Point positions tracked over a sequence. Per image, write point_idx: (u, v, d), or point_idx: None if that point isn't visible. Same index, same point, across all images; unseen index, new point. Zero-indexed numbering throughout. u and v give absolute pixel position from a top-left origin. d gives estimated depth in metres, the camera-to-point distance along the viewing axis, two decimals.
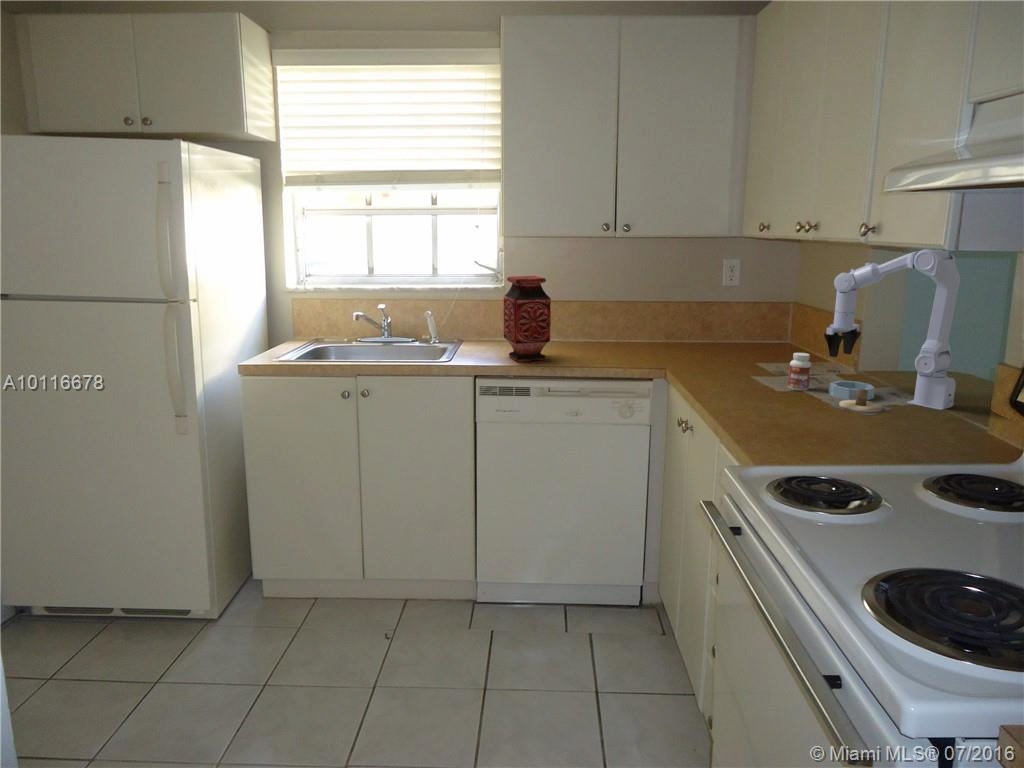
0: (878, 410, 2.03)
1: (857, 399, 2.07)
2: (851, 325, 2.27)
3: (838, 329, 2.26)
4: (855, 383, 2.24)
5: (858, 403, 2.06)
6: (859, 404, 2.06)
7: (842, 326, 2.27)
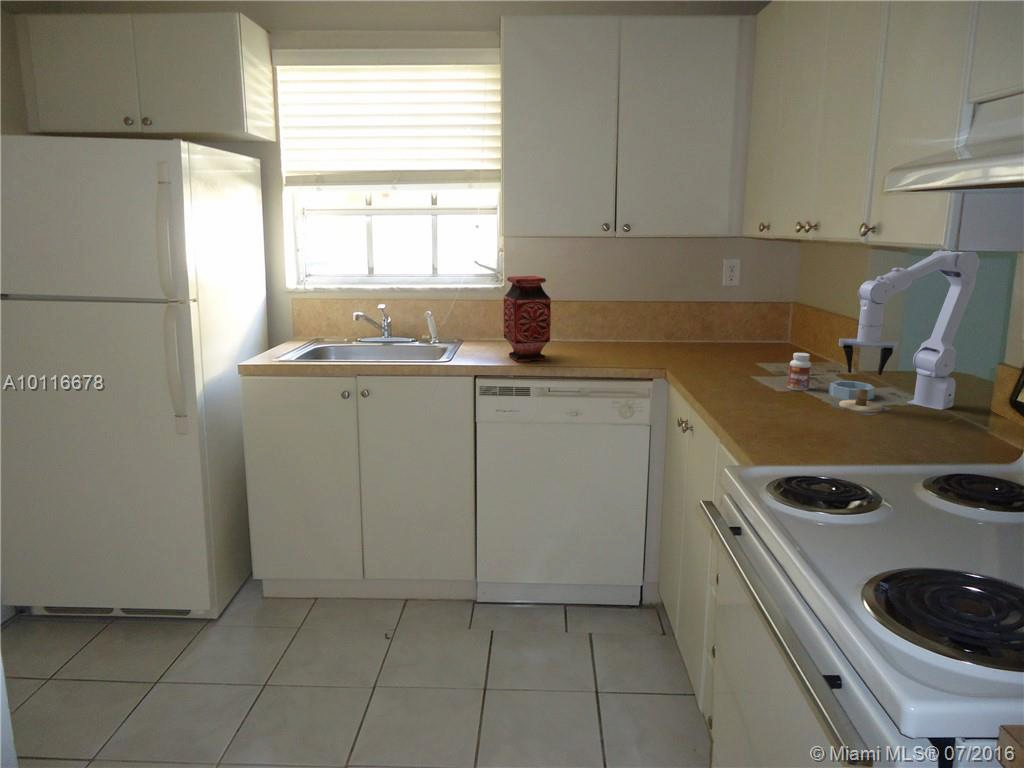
0: (878, 410, 2.03)
1: (857, 399, 2.07)
2: (868, 340, 2.02)
3: (849, 341, 2.04)
4: (855, 383, 2.24)
5: (858, 403, 2.06)
6: (859, 404, 2.06)
7: (858, 339, 2.04)
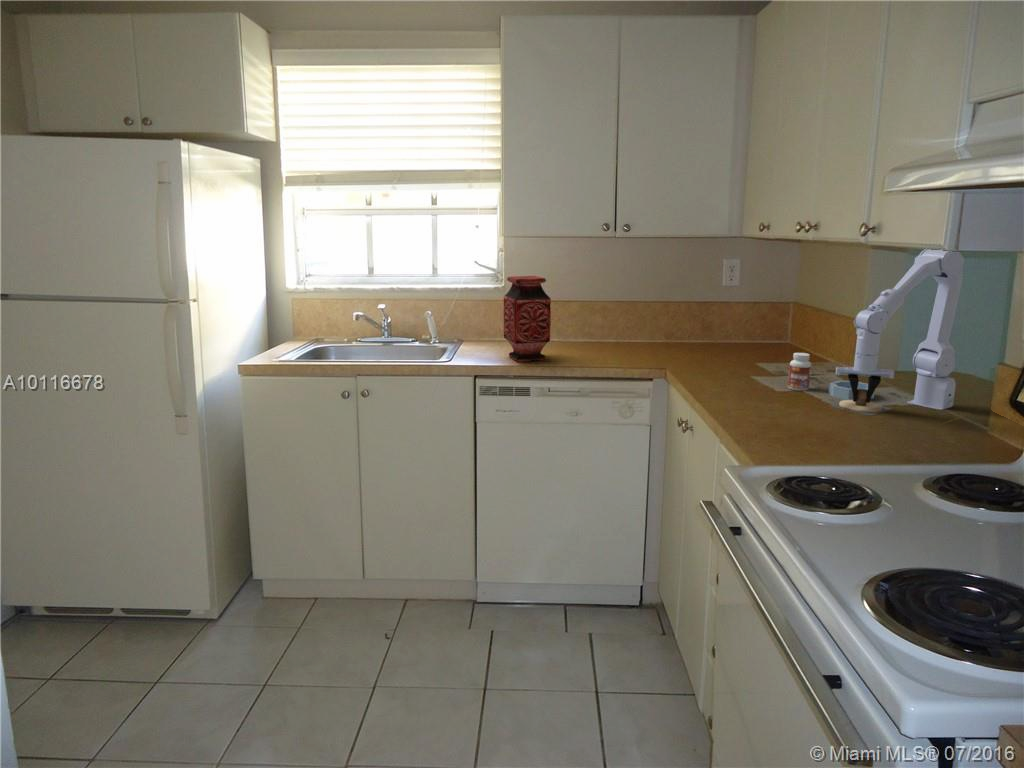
0: (878, 410, 2.03)
1: (857, 399, 2.07)
2: (865, 369, 2.02)
3: (846, 370, 2.05)
4: None
5: (858, 403, 2.06)
6: (859, 404, 2.06)
7: (855, 368, 2.05)
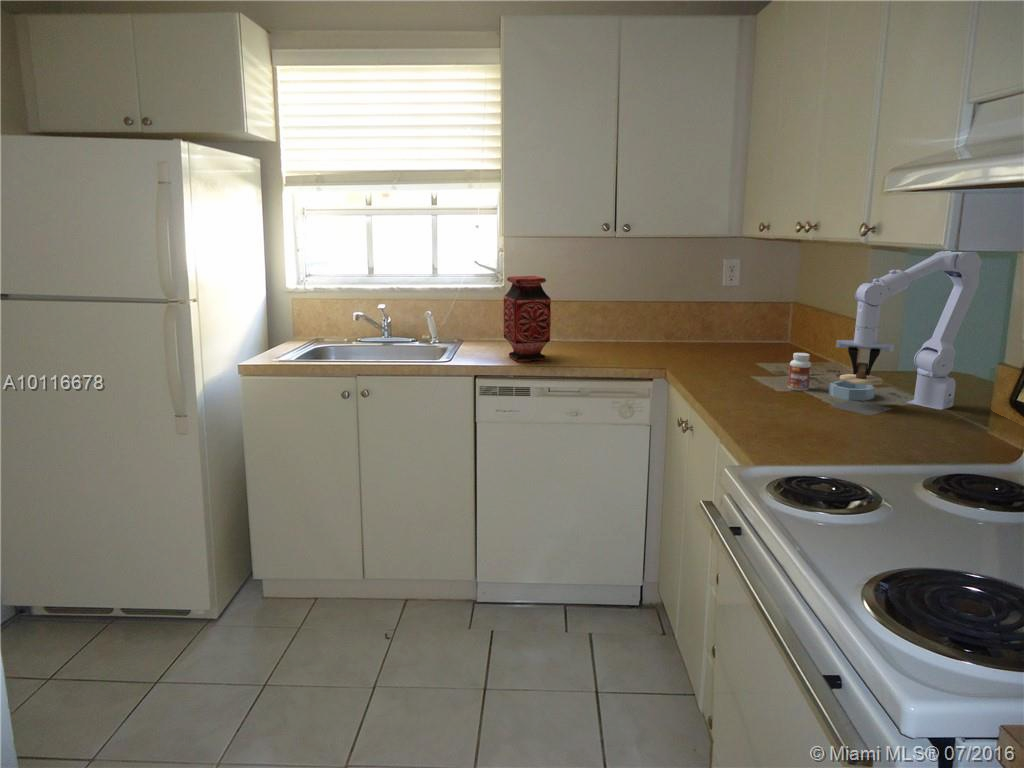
0: (876, 383, 2.05)
1: (857, 372, 2.09)
2: (863, 341, 2.05)
3: (845, 343, 2.08)
4: None
5: (858, 376, 2.09)
6: (859, 377, 2.08)
7: (854, 341, 2.07)
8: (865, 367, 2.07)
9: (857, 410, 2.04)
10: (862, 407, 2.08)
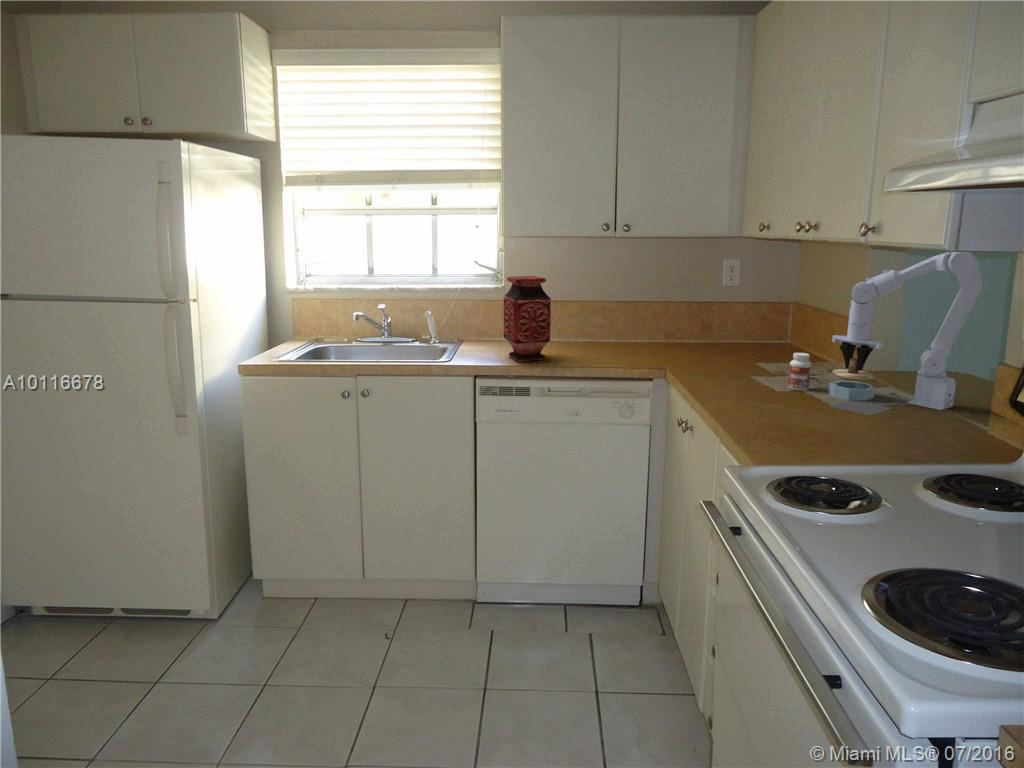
0: (861, 377, 2.14)
1: (848, 367, 2.19)
2: (851, 337, 2.16)
3: (838, 338, 2.20)
4: (855, 383, 2.24)
5: (848, 371, 2.19)
6: (849, 372, 2.19)
7: (846, 336, 2.18)
8: (855, 362, 2.17)
9: (857, 410, 2.04)
10: (862, 407, 2.08)
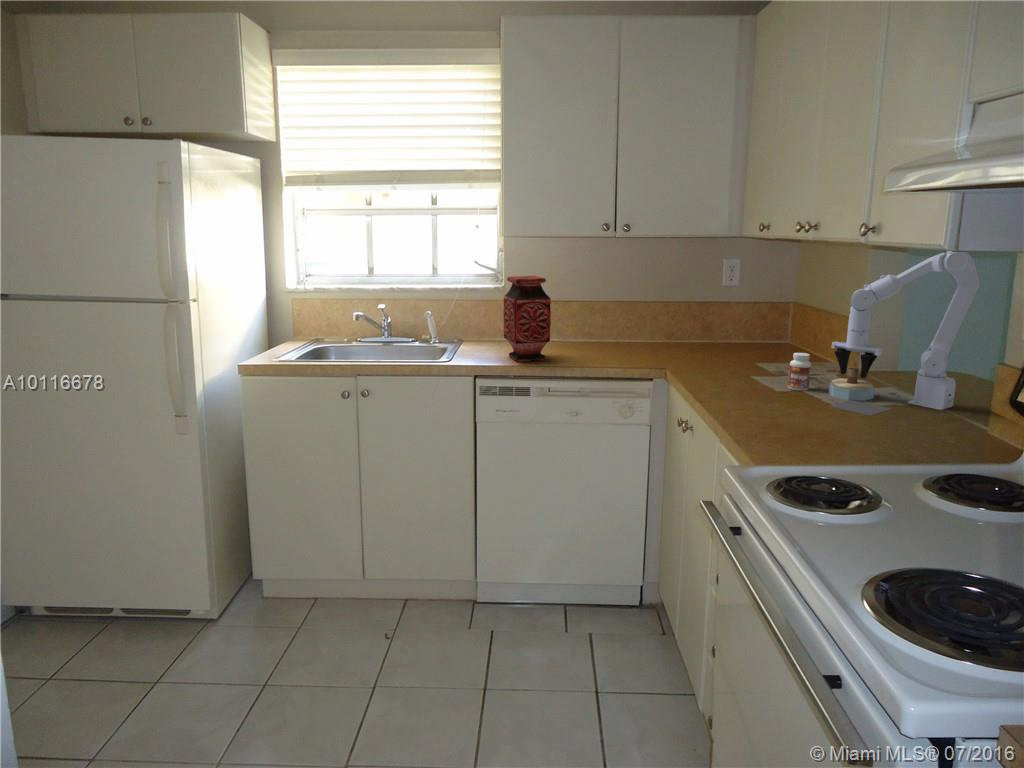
0: (860, 388, 2.15)
1: (847, 377, 2.20)
2: (850, 344, 2.16)
3: (838, 344, 2.21)
4: None
5: (847, 381, 2.20)
6: (848, 382, 2.19)
7: (846, 343, 2.19)
8: (854, 372, 2.18)
9: (857, 410, 2.04)
10: (862, 407, 2.08)
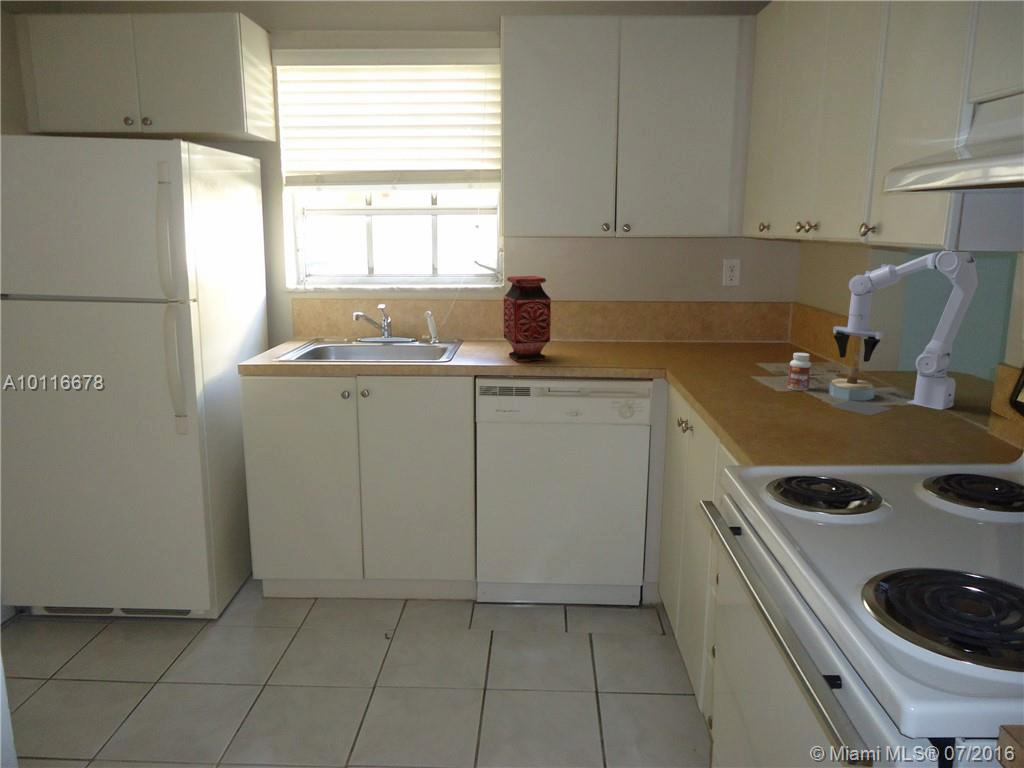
0: (860, 388, 2.15)
1: (847, 377, 2.20)
2: (851, 328, 2.22)
3: (839, 329, 2.27)
4: None
5: (847, 381, 2.20)
6: (848, 382, 2.19)
7: (847, 327, 2.25)
8: (854, 372, 2.18)
9: (857, 410, 2.04)
10: (862, 407, 2.08)
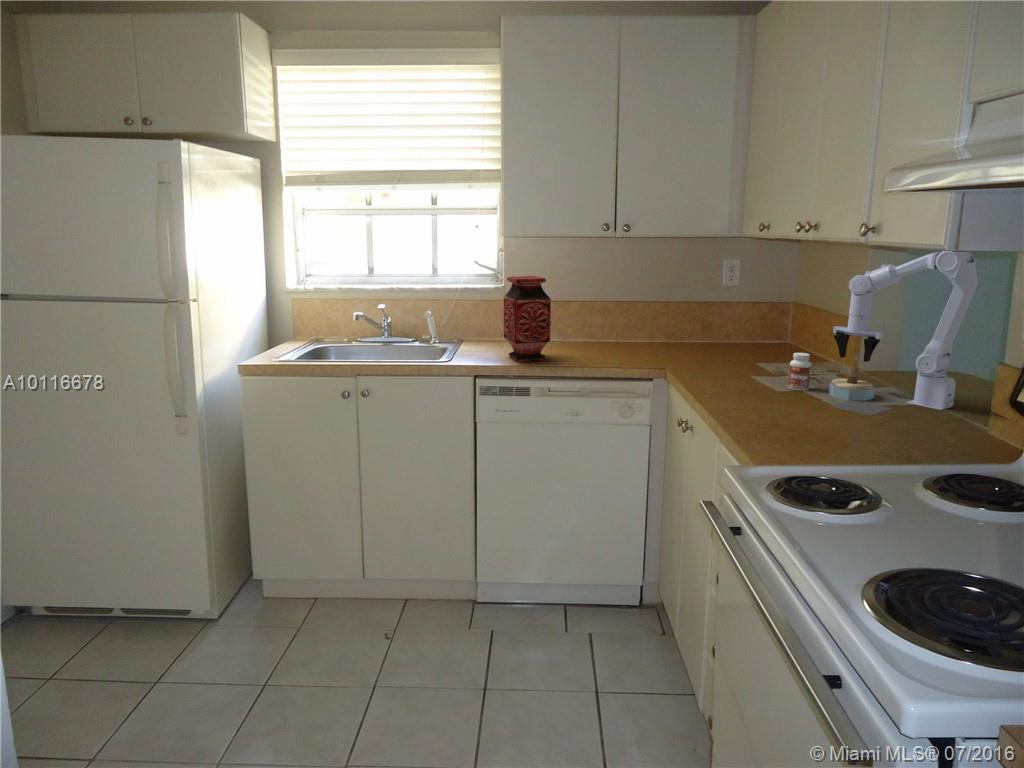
0: (860, 388, 2.15)
1: (847, 377, 2.20)
2: (851, 328, 2.22)
3: (839, 329, 2.27)
4: None
5: (847, 381, 2.20)
6: (848, 382, 2.19)
7: (847, 327, 2.25)
8: (854, 372, 2.18)
9: (857, 410, 2.04)
10: (862, 407, 2.08)
